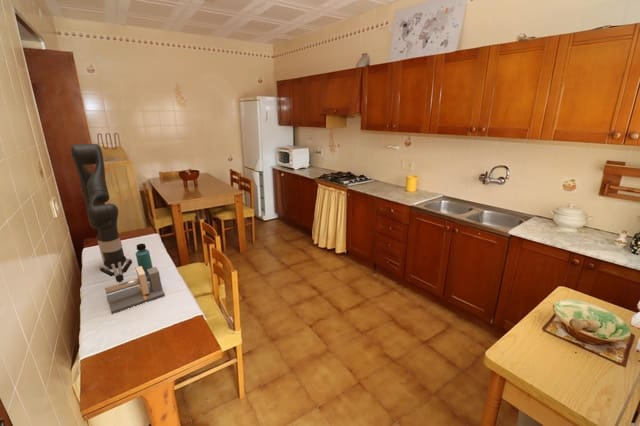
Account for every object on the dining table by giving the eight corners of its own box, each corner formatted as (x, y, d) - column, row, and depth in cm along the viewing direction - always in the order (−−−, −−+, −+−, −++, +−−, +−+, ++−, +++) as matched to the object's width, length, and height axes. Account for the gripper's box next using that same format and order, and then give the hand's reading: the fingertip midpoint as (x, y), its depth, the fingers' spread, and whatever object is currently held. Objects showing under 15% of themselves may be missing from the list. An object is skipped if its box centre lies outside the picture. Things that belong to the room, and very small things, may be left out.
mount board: (107, 298, 146) (101, 277, 142) (157, 282, 159) (153, 263, 155) (111, 314, 135) (105, 292, 131) (165, 296, 148) (161, 275, 144)
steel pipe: (105, 292, 139) (104, 286, 138) (151, 278, 151) (150, 273, 150) (106, 296, 137) (105, 290, 136) (153, 281, 148) (152, 275, 147)
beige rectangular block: (139, 286, 151) (135, 267, 147) (145, 284, 152) (141, 266, 149) (143, 294, 144) (139, 275, 141) (149, 292, 146) (145, 273, 142)
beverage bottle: (157, 276, 164) (151, 243, 158) (147, 282, 159) (140, 248, 152) (148, 274, 166) (141, 241, 160) (137, 280, 161) (130, 246, 154)
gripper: (127, 241, 141) (134, 273, 147) (92, 249, 133) (102, 282, 139) (130, 246, 136) (138, 280, 142) (94, 255, 128) (104, 290, 134)
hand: (120, 281), depth 140 cm, fingers closed
